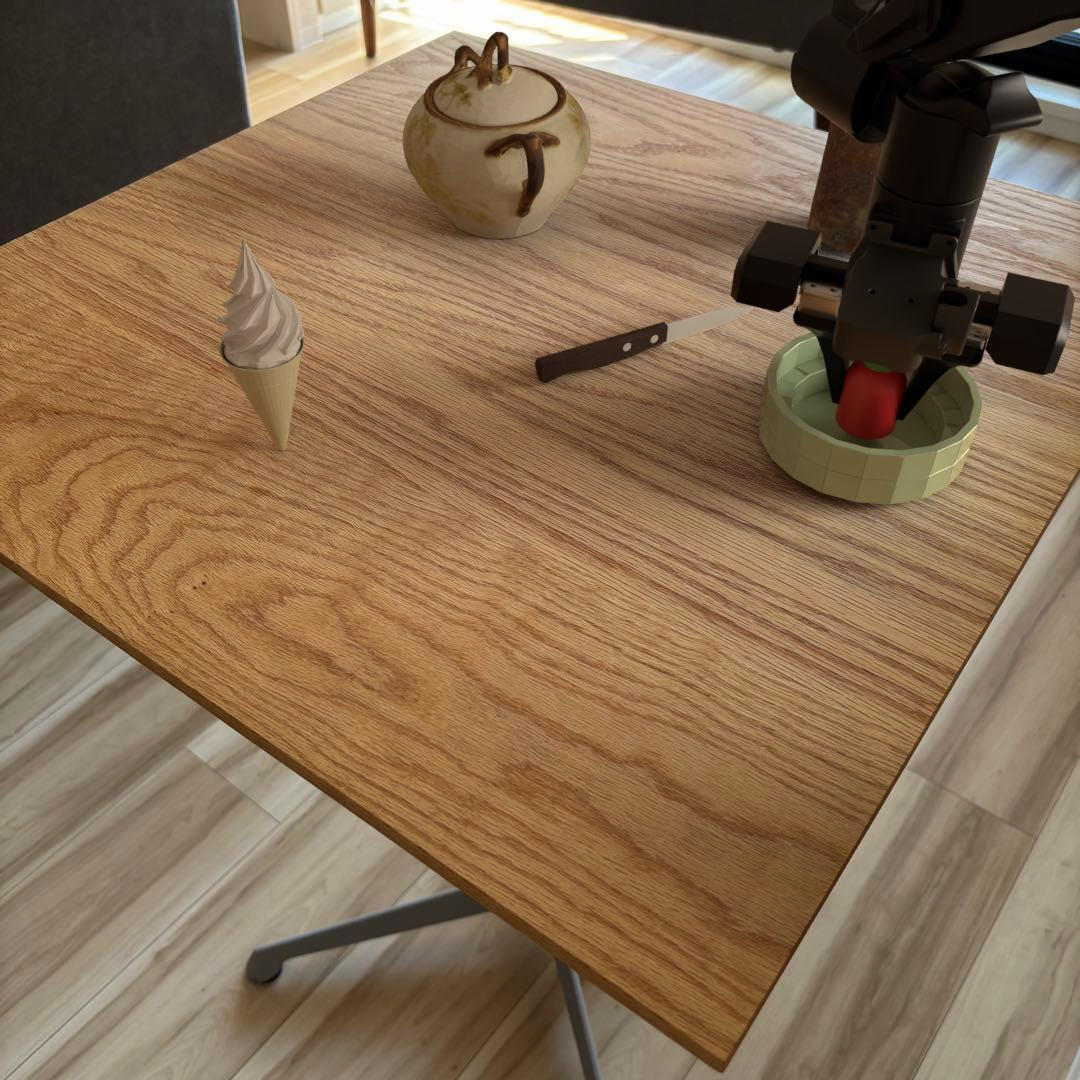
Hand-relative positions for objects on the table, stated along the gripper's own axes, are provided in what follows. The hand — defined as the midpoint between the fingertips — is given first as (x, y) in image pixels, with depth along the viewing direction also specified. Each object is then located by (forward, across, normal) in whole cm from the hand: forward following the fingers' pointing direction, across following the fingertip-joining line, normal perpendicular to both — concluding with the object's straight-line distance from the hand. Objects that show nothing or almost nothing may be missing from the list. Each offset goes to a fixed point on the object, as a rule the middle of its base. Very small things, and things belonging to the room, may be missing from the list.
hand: (868, 408), depth 72 cm
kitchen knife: (+3, -16, +4) cm, 17 cm away
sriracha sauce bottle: (+1, 0, 0) cm, 1 cm away
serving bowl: (+3, 0, 0) cm, 3 cm away
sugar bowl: (+3, -34, +17) cm, 38 cm away
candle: (+3, -6, +25) cm, 26 cm away
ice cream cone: (+3, -34, -16) cm, 38 cm away
